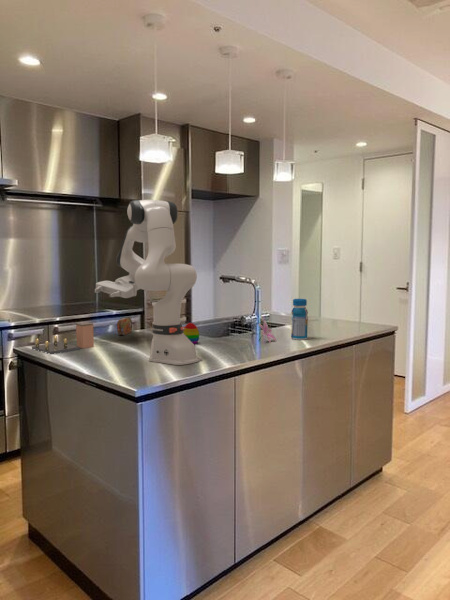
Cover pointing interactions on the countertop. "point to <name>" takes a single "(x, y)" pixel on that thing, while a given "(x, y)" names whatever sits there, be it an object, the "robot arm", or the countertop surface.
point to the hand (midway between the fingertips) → (103, 293)
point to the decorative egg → (191, 332)
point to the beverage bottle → (299, 319)
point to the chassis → (55, 346)
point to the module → (85, 335)
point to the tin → (124, 326)
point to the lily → (267, 332)
